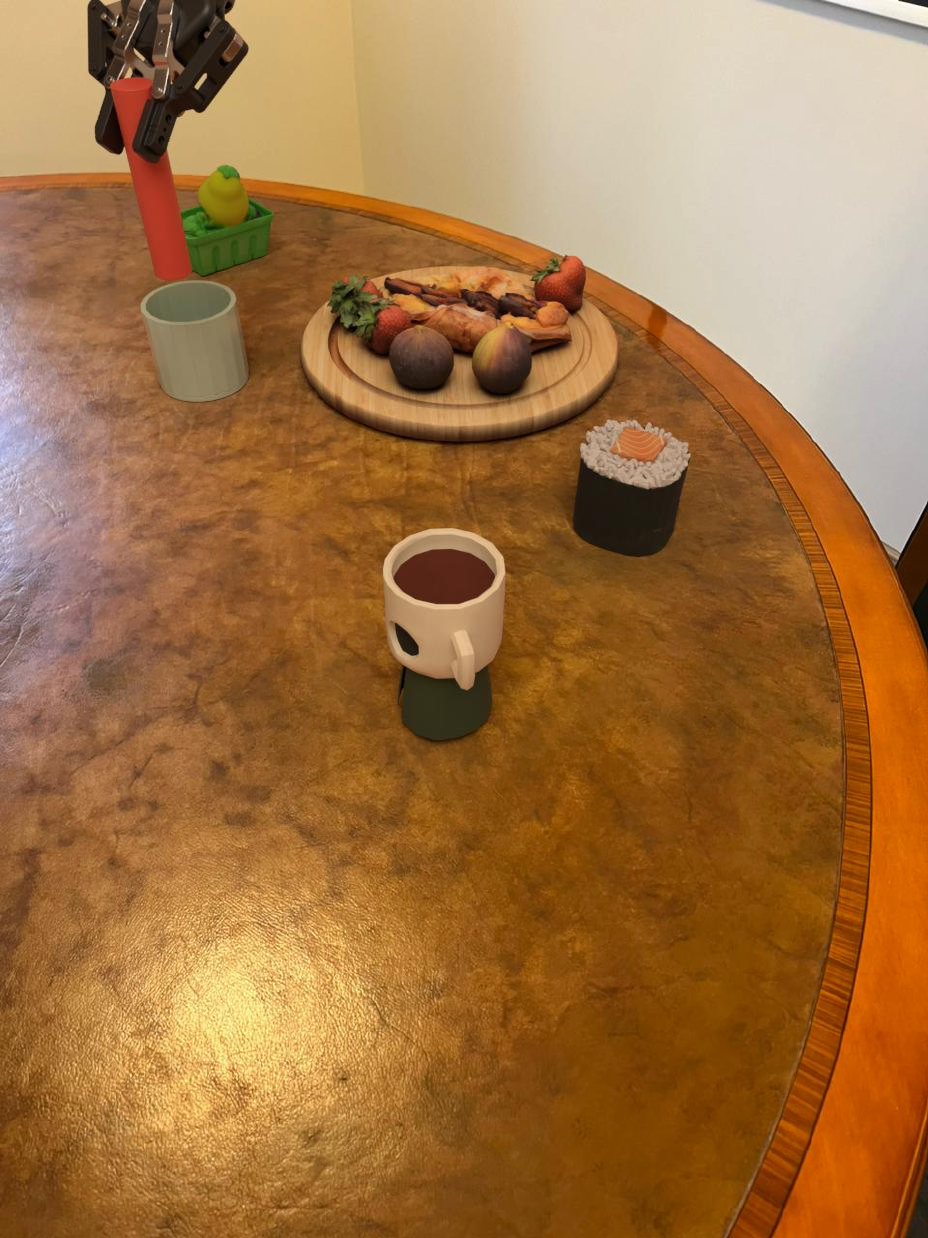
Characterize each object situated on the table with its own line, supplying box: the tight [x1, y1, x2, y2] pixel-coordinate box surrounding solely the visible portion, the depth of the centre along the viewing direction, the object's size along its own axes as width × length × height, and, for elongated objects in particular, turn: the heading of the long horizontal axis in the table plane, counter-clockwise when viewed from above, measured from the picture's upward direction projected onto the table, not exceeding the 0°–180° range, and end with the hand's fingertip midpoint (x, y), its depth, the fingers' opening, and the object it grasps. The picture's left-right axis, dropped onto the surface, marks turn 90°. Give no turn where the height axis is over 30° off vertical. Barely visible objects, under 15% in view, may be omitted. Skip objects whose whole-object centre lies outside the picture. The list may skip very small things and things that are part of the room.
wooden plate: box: [299, 254, 621, 443], centre depth 92 cm, size 32×32×8 cm
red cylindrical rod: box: [110, 77, 193, 281], centre depth 72 cm, size 3×3×14 cm
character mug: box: [382, 527, 507, 742], centre depth 58 cm, size 11×7×13 cm, turn 15°
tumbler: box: [139, 279, 250, 403], centre depth 89 cm, size 9×9×8 cm
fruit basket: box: [180, 164, 275, 277], centre depth 106 cm, size 11×9×11 cm
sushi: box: [572, 419, 692, 558], centre depth 74 cm, size 8×8×8 cm
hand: (126, 151), depth 68 cm, fingers closed on red cylindrical rod, 3 cm apart
